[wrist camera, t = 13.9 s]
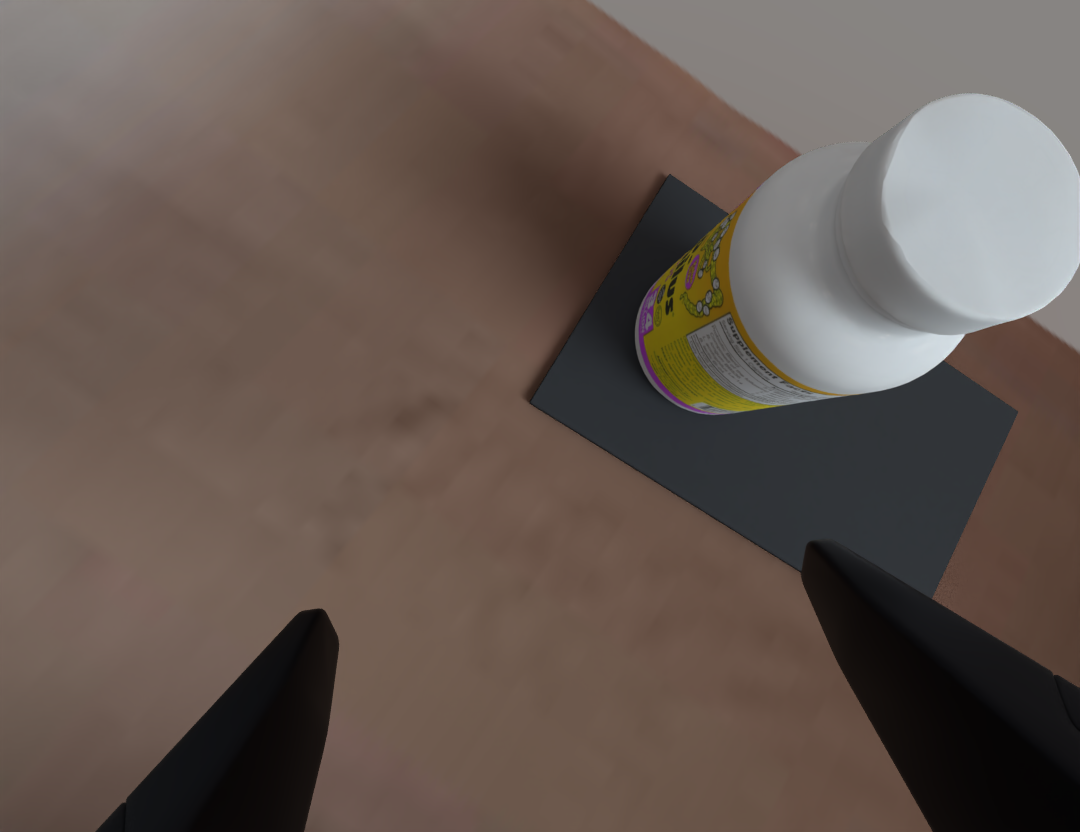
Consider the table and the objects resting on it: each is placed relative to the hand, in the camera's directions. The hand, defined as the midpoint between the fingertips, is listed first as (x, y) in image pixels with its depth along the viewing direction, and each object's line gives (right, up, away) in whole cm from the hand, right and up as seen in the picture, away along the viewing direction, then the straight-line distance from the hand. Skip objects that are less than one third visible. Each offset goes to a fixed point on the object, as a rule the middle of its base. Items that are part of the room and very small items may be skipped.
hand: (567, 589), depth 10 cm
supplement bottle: (+7, +6, +13) cm, 16 cm away
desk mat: (+11, +4, +14) cm, 18 cm away
